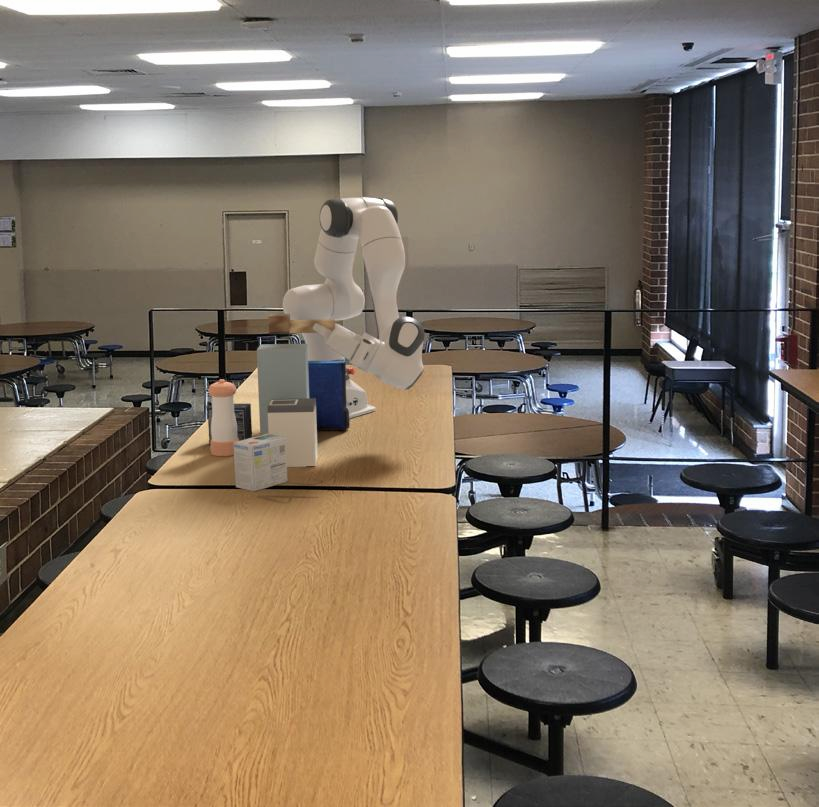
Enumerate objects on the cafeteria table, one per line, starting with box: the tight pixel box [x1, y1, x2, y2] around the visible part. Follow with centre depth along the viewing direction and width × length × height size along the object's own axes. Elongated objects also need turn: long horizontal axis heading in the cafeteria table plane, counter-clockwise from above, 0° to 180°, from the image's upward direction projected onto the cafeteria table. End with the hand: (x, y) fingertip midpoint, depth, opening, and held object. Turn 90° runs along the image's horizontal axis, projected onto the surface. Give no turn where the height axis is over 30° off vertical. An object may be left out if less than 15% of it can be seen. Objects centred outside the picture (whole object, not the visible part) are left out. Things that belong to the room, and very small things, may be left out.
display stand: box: [256, 343, 309, 436], centre depth 286 cm, size 13×11×27 cm
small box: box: [207, 403, 253, 447], centre depth 297 cm, size 11×6×10 cm, turn 84°
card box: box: [267, 398, 319, 468], centre depth 274 cm, size 11×10×15 cm
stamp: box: [267, 313, 336, 335], centre depth 282 cm, size 16×5×4 cm, turn 91°
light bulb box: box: [233, 434, 288, 492], centre depth 254 cm, size 11×7×11 cm, turn 141°
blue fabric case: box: [308, 359, 351, 431], centre depth 310 cm, size 14×5×20 cm, turn 84°
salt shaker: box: [207, 378, 239, 457], centre depth 285 cm, size 7×7×19 cm
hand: (314, 324), depth 282 cm, fingers closed on stamp, 3 cm apart
